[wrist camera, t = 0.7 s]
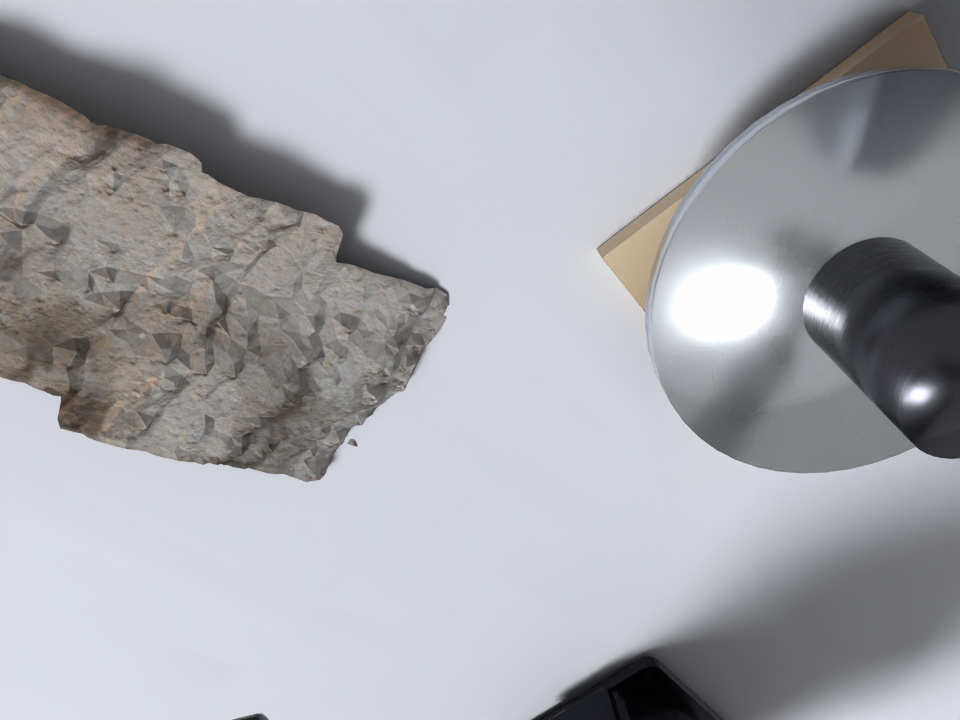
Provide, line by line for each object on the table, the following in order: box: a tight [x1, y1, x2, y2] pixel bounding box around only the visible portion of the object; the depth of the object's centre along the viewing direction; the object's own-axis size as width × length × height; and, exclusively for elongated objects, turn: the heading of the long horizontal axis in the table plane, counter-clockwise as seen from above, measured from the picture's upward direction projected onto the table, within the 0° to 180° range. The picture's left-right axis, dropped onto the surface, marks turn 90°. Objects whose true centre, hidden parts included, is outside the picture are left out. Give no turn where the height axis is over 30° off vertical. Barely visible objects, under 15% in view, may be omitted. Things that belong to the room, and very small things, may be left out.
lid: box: [645, 66, 960, 473], centre depth 19 cm, size 11×11×6 cm
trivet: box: [597, 11, 948, 312], centre depth 22 cm, size 9×9×1 cm
